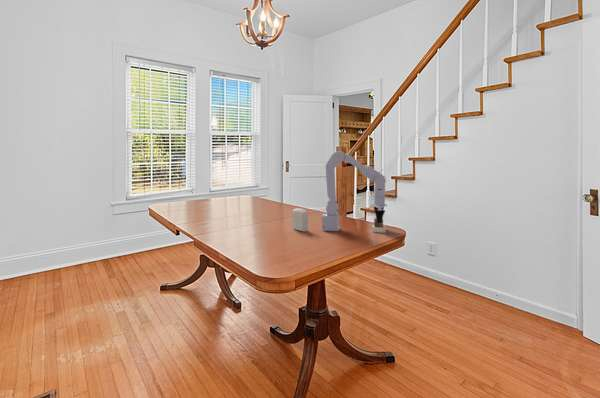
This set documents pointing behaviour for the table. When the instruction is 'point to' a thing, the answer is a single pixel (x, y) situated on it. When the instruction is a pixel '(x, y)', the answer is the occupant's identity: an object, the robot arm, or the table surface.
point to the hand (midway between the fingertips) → (378, 221)
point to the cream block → (379, 229)
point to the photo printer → (300, 219)
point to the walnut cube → (378, 223)
